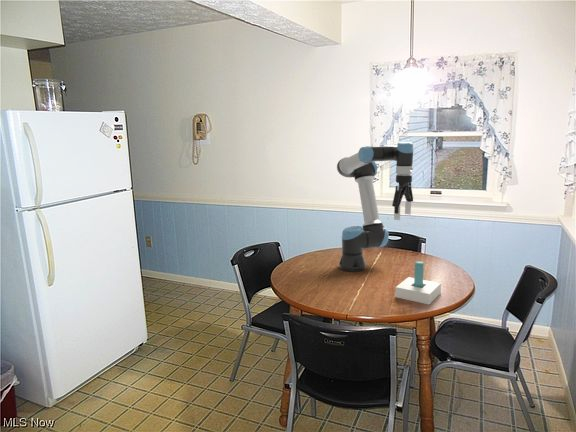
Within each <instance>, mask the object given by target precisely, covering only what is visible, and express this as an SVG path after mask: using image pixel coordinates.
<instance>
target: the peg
mask: <svg viewBox="0 0 576 432" xmlns="http://www.w3.org/2000/svg"><path fill="white" fill-rule="evenodd" d="M424 265H425V262H424V261H415V262H414V276H413V278H414V287H419V288H423V280H424V272H425V271H424V270H425V269H424V267H425V266H424Z"/></svg>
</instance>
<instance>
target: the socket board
mask: <svg viewBox="0 0 576 432" xmlns="http://www.w3.org/2000/svg"><path fill="white" fill-rule="evenodd" d="M441 293H442V283H441V282H437V281H432V280H427V279H426V280H425V279H423V288H419V287H414V277H410V276H408V277H407V278H405V279H404V280H403V281H402V282H401V283H399V284H398V285H397V286H395V294H394V295H395V298H397V299H403V300H406V301H411V302H416V303H420V304H423V305H424V304H425V305H430V304H432V302H434V301H435V299H436V298H437V297H438V296H439V295H441Z"/></svg>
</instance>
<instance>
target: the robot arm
mask: <svg viewBox="0 0 576 432" xmlns="http://www.w3.org/2000/svg"><path fill="white" fill-rule="evenodd" d="M386 161H387V162H389V161H395V162H396V163H395V164H396V165H395V166H396V168H395V169H396V170H395V173H396V175H395V183H397V184H398V185H395V191H394V195H393V200H392V205H391V206H392V207H393V209H394V210H393V220H396V221H400V220H401V203H402V200H403V197H404V198H405V203H404V204H405V205H404V214H405V215H409V216H411V214H412V213H411V212H412V211H411V210H412V203H413V202H414V195H413V189H412V182H413V175H412V174H413V170H414V168H413V165H414V164H413V161H414V144H413V142H410V141H400V142H397V144H396V145H395V144H388V145H378V146H377V145H375V146H373V145H372V146H371V145H368V146H366V145H365V146H362V147H360V148H359V150H358V152H356V153H354V154H353V155H350V156H349V157H348V156H346V157H343V158H341V159H339V160H338V162H337V163H336V170H337V172H338V173H339V174H340V175H341V176H342V177H343V178H354V181H355V183H356V184H357V185H358V192H359V196H360V197H359V198H360V204H361V210H362V215H363V221H364V223H363V225H362V226H360V225H353V226H348V227H345V228H344V229H343V230H342V234H341V246H342V247H341V249H342V250H341V254H342V255H341V257H340V260H339V263H338V267H339V269H340V270H341V271H346V272H352V273H353V272H361V271H363V270H366V268H367V264H366V261H365V257H364V253H363V252H364V251H363V250H365V249H366V250H367V249H368V250H369V249H375V248H376V249H377V248H383V247H385V246H386V245H387V243H388V241H389V230H388V228H387V227H386V226H384V224H383V222H382V221H381V220H380V217H379V211H378V204H377V200H376V198H377V197H376V194H375V193H376V192H375V187H374V186H375V185H374V180H375V178H376V177H375V176H376V175H377V173H378V165H377V162H386Z"/></svg>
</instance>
